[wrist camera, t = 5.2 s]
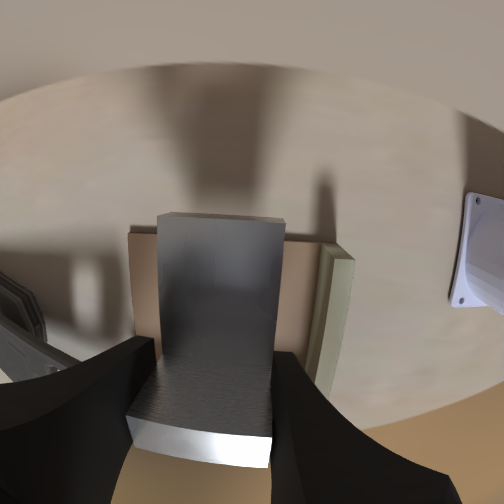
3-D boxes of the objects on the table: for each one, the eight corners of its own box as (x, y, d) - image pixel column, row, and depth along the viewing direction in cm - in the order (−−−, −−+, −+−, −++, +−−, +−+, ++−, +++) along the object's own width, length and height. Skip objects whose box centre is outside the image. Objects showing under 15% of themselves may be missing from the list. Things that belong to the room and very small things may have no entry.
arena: (336, 243, 16) (355, 260, 13) (312, 393, 19) (319, 430, 15) (130, 232, 17) (98, 244, 13) (145, 377, 20) (125, 409, 16)
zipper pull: (120, 466, 14) (-63, 340, 14) (149, 410, 21) (-28, 318, 21) (107, 377, 12) (-80, 261, 12) (151, 322, 19) (-38, 246, 19)
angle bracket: (268, 374, 12) (266, 467, 7) (175, 364, 12) (135, 446, 7) (283, 218, 10) (297, 245, 5) (172, 212, 10) (98, 232, 5)
